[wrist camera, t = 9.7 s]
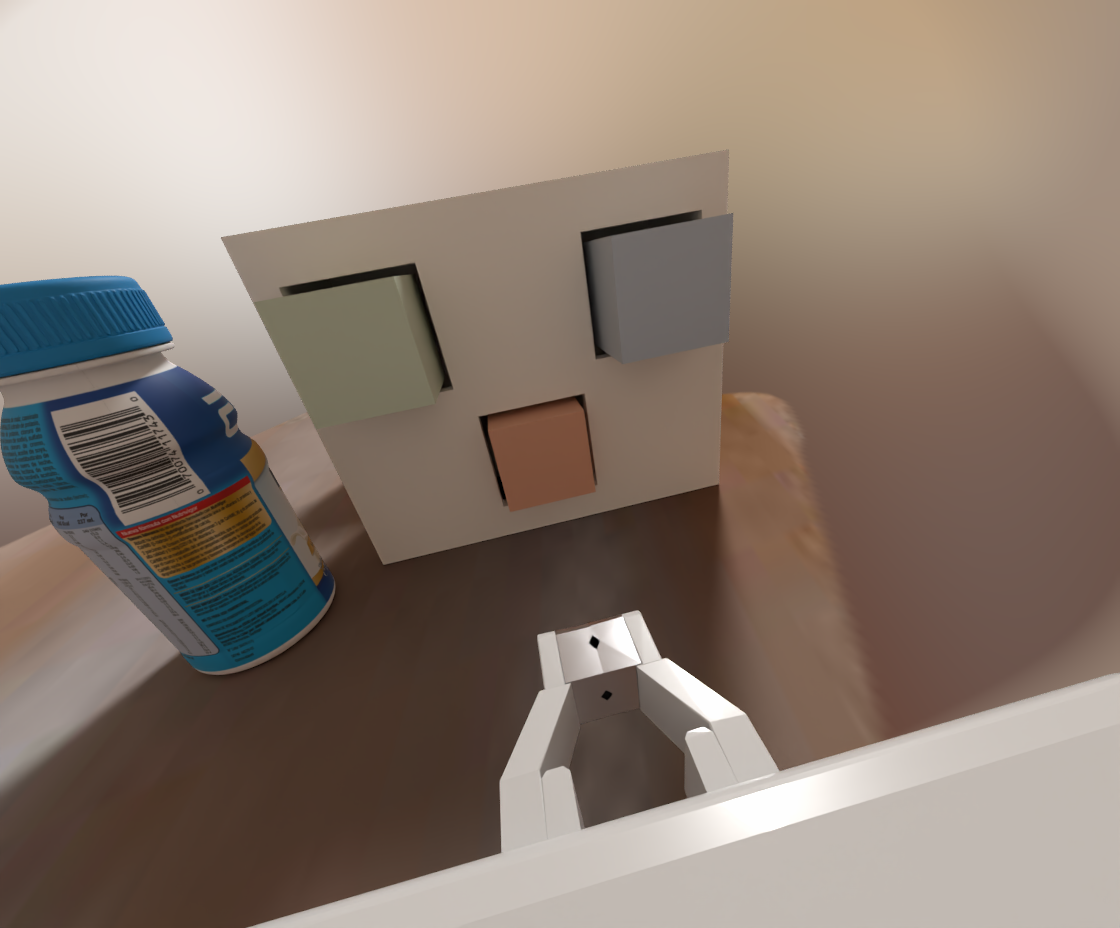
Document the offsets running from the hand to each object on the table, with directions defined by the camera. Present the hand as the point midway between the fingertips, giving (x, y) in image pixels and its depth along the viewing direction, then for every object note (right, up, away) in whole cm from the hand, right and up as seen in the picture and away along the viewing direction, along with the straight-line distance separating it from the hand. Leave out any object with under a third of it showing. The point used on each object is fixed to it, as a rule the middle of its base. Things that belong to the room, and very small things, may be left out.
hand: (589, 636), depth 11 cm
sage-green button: (-11, +9, +11) cm, 18 cm away
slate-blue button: (+5, +12, +13) cm, 18 cm away
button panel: (-2, +3, +23) cm, 23 cm away
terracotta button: (-2, +4, +18) cm, 19 cm away
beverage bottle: (-20, -5, +14) cm, 25 cm away
